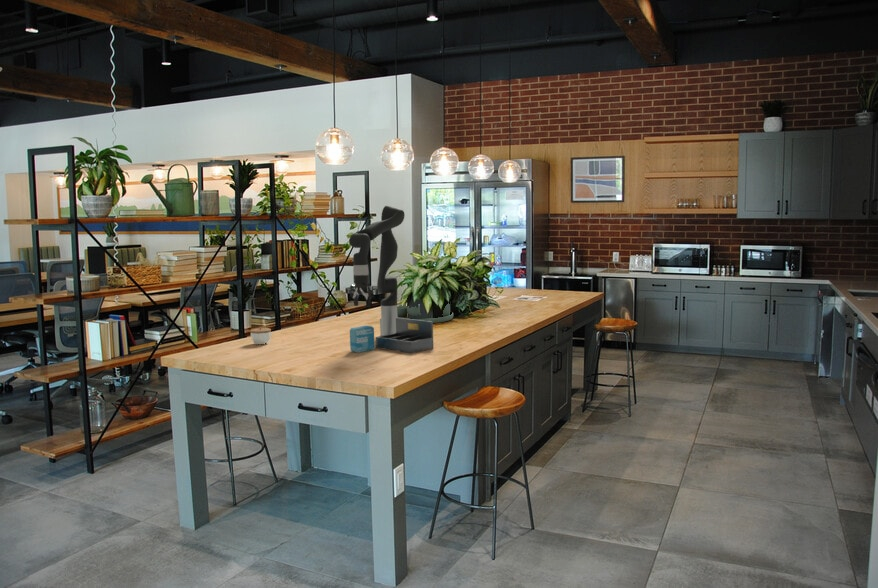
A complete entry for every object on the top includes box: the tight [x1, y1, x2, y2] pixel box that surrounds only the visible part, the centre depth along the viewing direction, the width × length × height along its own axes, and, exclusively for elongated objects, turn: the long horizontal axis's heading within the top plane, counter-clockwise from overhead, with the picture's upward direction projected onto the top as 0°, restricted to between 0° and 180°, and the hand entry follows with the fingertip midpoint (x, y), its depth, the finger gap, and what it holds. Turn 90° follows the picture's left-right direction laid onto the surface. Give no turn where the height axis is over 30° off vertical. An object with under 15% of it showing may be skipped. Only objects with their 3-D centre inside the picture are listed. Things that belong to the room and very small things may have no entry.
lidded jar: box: [249, 326, 272, 345], centre depth 376 cm, size 11×11×9 cm
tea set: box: [397, 303, 454, 324], centre depth 450 cm, size 40×40×16 cm
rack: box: [375, 318, 434, 354], centre depth 355 cm, size 25×16×14 cm, turn 50°
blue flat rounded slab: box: [349, 325, 376, 354], centre depth 351 cm, size 12×4×12 cm, turn 133°
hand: (362, 306), depth 349 cm, fingers open, 8 cm apart
